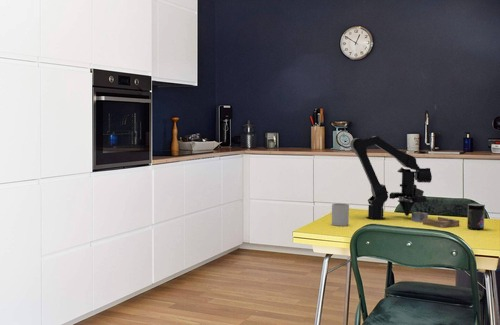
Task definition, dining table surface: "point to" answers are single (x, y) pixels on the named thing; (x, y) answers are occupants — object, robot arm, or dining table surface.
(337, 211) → the cup
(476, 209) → the supplement container
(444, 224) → the dock
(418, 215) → the socket
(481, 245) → the dining table surface
